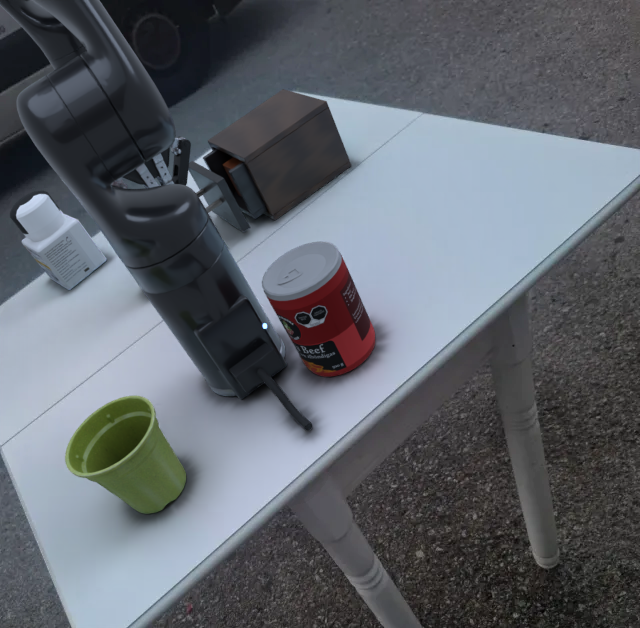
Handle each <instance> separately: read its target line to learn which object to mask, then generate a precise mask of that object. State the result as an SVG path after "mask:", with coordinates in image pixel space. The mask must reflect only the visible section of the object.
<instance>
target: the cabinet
mask: <svg viewBox="0 0 640 628" xmlns="http://www.w3.org/2000/svg"><path fill="white" fill-rule="evenodd" d="M207 143H208V145H209V147H210V149H211V152H212V151H213V150H214V149H218V150H220V151H222V152H224V153H226V154H228V155H230V156H232V157H234V158H236V159H239V160H241V161H243V162H245V165H246V167H247V169H248V171H249V173H250V175H251V177H252V179H253V181H254V183H255V185H256V187H257V189H258V191H259V193H260V195H261V197H262V199H263V201H264V203H265V205H266V207H267V209H268V211H266V212H265V213H263V215H265V216H267V217H269V218H270V219H272V220H274V221H276V220H278V219H279V218H280V217H282V216H283V215H285V214H286V213H287V212H288V211H290V210H292V209H293V208H294V207H296V206H297V205H299V204H301V203H302V202H303V201H304V200H306V199H307V198H309V197H310V196H312V195H313V194H314V193H315V192H317V191H319V190H320V189H321V188H323V187H324V186H325V185H327V184H328V183H330V182H331V181H333V180H334V179H336V178H337V177H338V176H340V175H341V174H343V173H344V172H346V170H348V169H349V168H351V167H352V166H353V165H352V163H351V160H350V158H349V155H348V152H347V150H346V148H345V144H344V142H343V139H342V137H341V134H340V132H339V129H338V127H337V123H336V121H335V119H334V117H333V114H332V111H331V108H330V106H329V104H328V101H327V100H324V99H320V98H317V97H313V96H310V95H307V94H303V93H299V92H295V91H292V90H288V89H285V88H282V89H281V90H279V91H278V92H276V93H275V94H273V95H272V96H270V97H269V98H268V99H266V100H264V101H263V102H261V103H260V104H258V106H255V108H253V109H251V110H250V111H249V112H247V113H246V114H244V115H242V116H241V117H240V118H238V119H237V120H236V121H234V122H233V123H231V124H230V125H228V126H227V127H225V128H224V129H222V130H221V131H219V132H217V133H216V134H215V135H213V136H212V137H211V138H208V139H207Z"/></svg>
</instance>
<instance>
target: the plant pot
mask: <svg viewBox="0 0 640 628" xmlns="http://www.w3.org/2000/svg"><path fill="white" fill-rule="evenodd" d="M156 412H157V411H156V408H155V406H154V404H153V403H152V401H151V400H150V399H148V398H147V397H144V396H142V395H137V394H136V395H134V394H133V395H126V396H125V395H124V396H122V397H119V398H117V399H114V400H110V401H109V402H107V403H105V404H104V405H102V406H100V407H99V408H97V409H96V410H95V411H93V412H92V413H90V415H88V416H87V417H86V418H85V419H84V420H83V422H82V423H80V425H79V426H78V427H77V428H76V429H75V431H74V432H73V434H72V436H71V438H70V439H69V441H68V443H67V446H66V449H65V453H64V454H65V455H64V463H65V466H66V468H67V470H68V471H69V472H70V473H71V474H72V475H74V476H76V477H78V478H82V479H86V480H88V481H91V482H93V483H97V484H98V485H100V486H101V487H103V488H104V489H105V490H107V491H108V492H109V493H111V494H112V495H114V496H115V497H117V498H118V499H119V500H121V501H123V502H124V504H126V505H128V506H130V507H131V508H132V509H133V510H135V511H136V512H138V513H140V514H145V515H148V514H149V515H150V514H155V513H158V512H160V511H163V510H164V509H165V507H166V506H167V505H168V504H169V503H171V502H173V501H175V500H177V499H178V497H179V496H180V495H181V493H182V492H183V490H184V488H185V485H186V482H187V473H186V470H185V468H184V466H183V464H182V463H181V461H180V459H179V457H178V456H177V454H176V453H175V451H174V450H173V448H172V446H171V444H170V442H169V441H168V440H167V438H166V436H165V434H164V433H163V431H162V429H161V427H160V425H159V420H158V418H157V413H156Z"/></svg>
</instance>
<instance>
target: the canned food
mask: <svg viewBox="0 0 640 628" xmlns="http://www.w3.org/2000/svg"><path fill="white" fill-rule="evenodd" d="M352 277H353V276H352V275H351V272H350V270H349V268H348V266H347V264H346V262H345V260H344V257H343V255H342V253H341V251H340V250H339V248H338V247H337V245H335V244H334V243H332V242H330V241H322V240H321V241H311V242H308V243H304V244H301V245H299V246H297V247H294V248H292V249H290V250H288V251H287V252H284V254H281V256H279V257H278V258H276V260H274V261H273V262H272V263H271V265H269V267H268V268H267V269H266V271H265V272H264V274H263V276H262V279H261V288H262V289H263V292H264V295H265V296H266V298H267V300H268V302H269V304H270V306H271V308H272V309H273V311H274V312H275V314H276V316H277V318H278V319H279V322H280V323H281V325H282V327H283V328H284V331H285V332H286V334H287V336H288V338H289V339H290V341H291V343H292V345H293V346H294V348H295V350H296V351H297V354H298V355H299V357H300V358H301V361H302V363H303V364H304V366H305V367H306V368H307V369H308V371H310V372H311V373H313V374H314V375H317V376H320V377H324V378H325V377H326V378H328V377H329V378H330V377H337V376H341V375H344V374H346V373H348V372H351V371H353V370H354V369H356V368H358V367H360V366H361V365H362V364H363V363H364V362H365V361H366V360H367V359H368V358H369V357H370V356H371V354H372V353H373V350H374V349H375V345H376V332H375V328H374V325H373V324H372V321H371V319H370V317H369V314H368V312H367V309H366V308H365V305H364V302H363V300H362V298H361V296H360V294H359V291H358V289H357V287H356V284H355V281H354V279H353V278H352Z"/></svg>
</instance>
